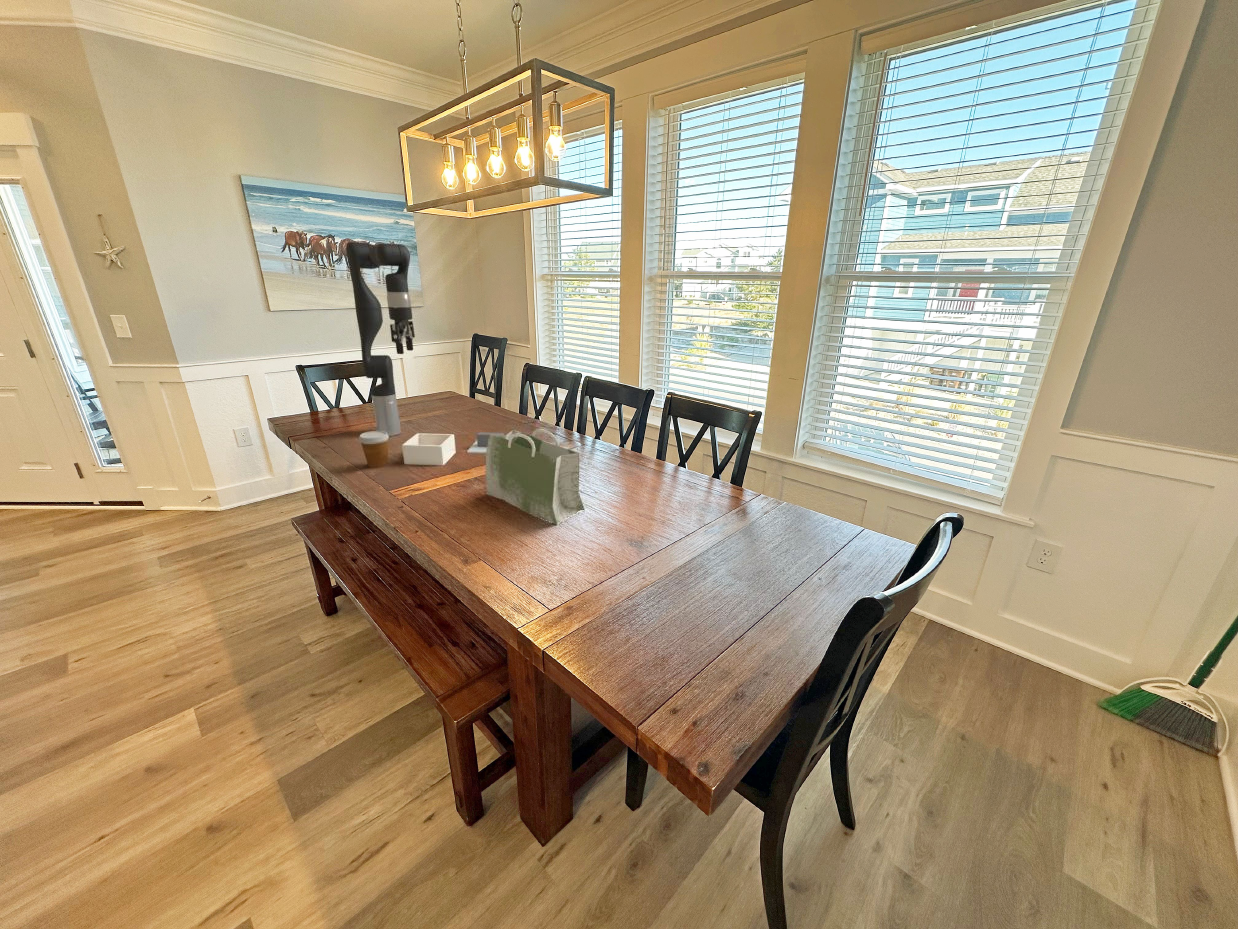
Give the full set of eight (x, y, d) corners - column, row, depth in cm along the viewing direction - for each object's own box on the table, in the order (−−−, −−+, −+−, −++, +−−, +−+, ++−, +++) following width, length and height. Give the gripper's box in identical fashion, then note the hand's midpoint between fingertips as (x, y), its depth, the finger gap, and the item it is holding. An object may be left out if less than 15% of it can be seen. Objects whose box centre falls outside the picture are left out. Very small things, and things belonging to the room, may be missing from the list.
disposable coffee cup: (357, 468, 172) (351, 436, 168) (379, 460, 180) (374, 429, 176) (377, 473, 169) (372, 440, 164) (398, 464, 177) (394, 432, 173)
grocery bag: (588, 509, 147) (588, 437, 139) (555, 526, 137) (554, 448, 129) (517, 481, 166) (514, 416, 157) (483, 494, 155) (478, 424, 147)
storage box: (419, 453, 188) (417, 433, 186) (455, 454, 189) (454, 434, 186) (404, 466, 175) (401, 445, 173) (443, 467, 175) (441, 446, 173)
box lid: (477, 443, 202) (476, 427, 200) (513, 444, 202) (513, 428, 200) (467, 455, 188) (465, 439, 186) (506, 456, 188) (505, 440, 186)
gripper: (397, 304, 178) (403, 349, 184) (379, 306, 165) (386, 354, 171) (418, 304, 178) (423, 349, 184) (401, 307, 165) (407, 355, 171)
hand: (405, 352), depth 178 cm, fingers open, 8 cm apart
